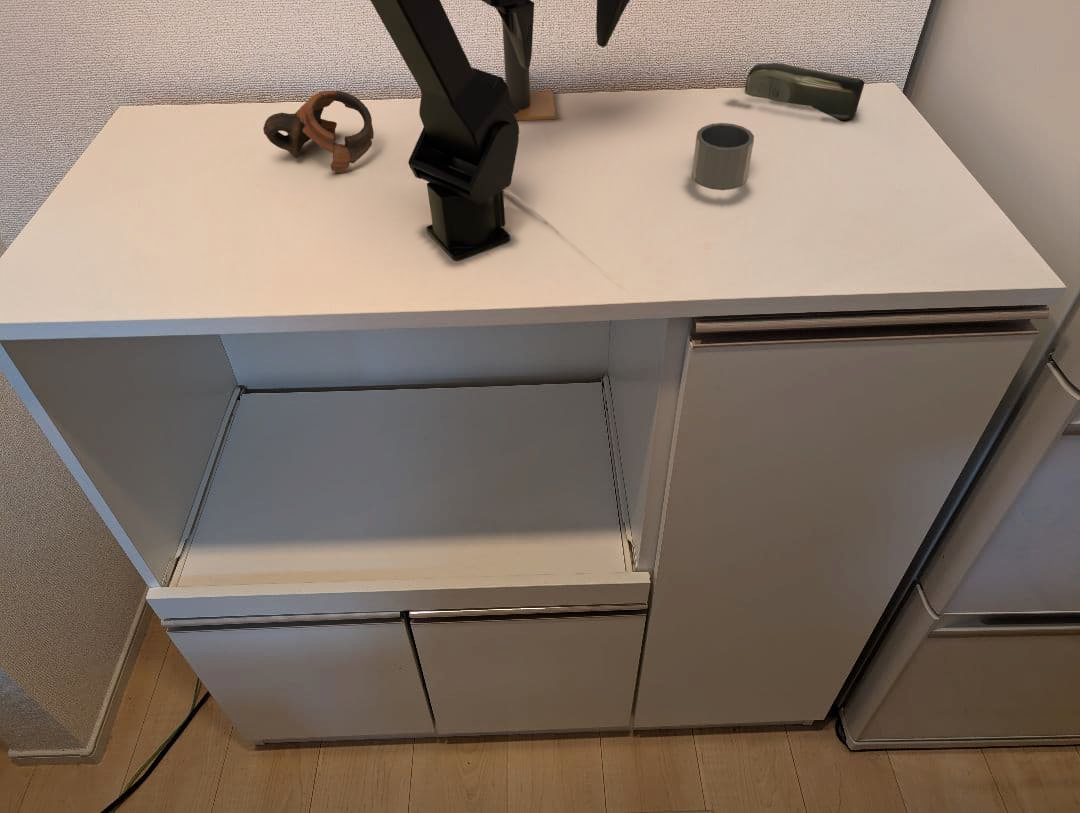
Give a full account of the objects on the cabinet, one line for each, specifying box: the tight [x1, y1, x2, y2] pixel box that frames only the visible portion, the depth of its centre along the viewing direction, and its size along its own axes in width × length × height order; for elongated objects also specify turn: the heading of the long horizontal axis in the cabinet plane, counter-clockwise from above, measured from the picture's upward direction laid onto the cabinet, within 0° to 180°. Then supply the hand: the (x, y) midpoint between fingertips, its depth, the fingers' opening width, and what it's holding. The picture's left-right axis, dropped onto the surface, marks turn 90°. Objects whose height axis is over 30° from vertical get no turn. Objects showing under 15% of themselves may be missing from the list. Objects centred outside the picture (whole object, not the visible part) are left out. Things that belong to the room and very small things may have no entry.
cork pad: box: [515, 91, 557, 121], centre depth 101 cm, size 9×7×1 cm
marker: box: [501, 19, 531, 110], centre depth 96 cm, size 3×3×15 cm
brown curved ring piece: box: [262, 90, 375, 174], centre depth 91 cm, size 12×10×8 cm
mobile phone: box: [744, 62, 865, 121], centre depth 97 cm, size 5×3×15 cm
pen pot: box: [691, 122, 755, 191], centre depth 85 cm, size 6×6×6 cm
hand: (564, 56), depth 80 cm, fingers open, 9 cm apart
